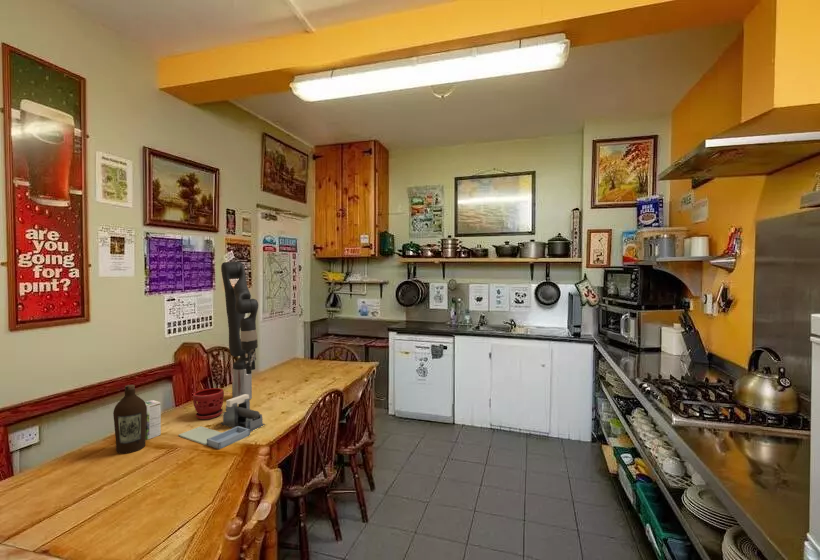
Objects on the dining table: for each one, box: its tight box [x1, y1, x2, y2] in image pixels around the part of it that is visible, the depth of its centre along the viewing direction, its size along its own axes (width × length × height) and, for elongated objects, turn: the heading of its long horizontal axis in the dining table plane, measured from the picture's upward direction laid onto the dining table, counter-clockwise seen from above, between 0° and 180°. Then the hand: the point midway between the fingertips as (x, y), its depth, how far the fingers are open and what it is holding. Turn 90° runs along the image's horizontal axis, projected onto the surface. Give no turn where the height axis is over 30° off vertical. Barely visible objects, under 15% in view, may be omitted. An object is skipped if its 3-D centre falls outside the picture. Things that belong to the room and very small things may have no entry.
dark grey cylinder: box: [238, 407, 261, 420], centre depth 174 cm, size 18×4×4 cm, turn 62°
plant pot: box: [192, 387, 225, 420], centre depth 185 cm, size 13×13×12 cm
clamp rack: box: [220, 399, 266, 433], centre depth 174 cm, size 19×8×11 cm, turn 62°
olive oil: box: [112, 384, 147, 454], centre depth 151 cm, size 11×11×25 cm
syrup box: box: [144, 399, 162, 440], centre depth 163 cm, size 6×6×14 cm
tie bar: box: [225, 394, 249, 407], centre depth 175 cm, size 3×10×3 cm, turn 152°
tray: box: [206, 426, 251, 450], centre depth 159 cm, size 8×15×2 cm, turn 152°
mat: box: [177, 425, 223, 446], centre depth 163 cm, size 18×10×1 cm, turn 62°
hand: (251, 371), depth 190 cm, fingers open, 8 cm apart
